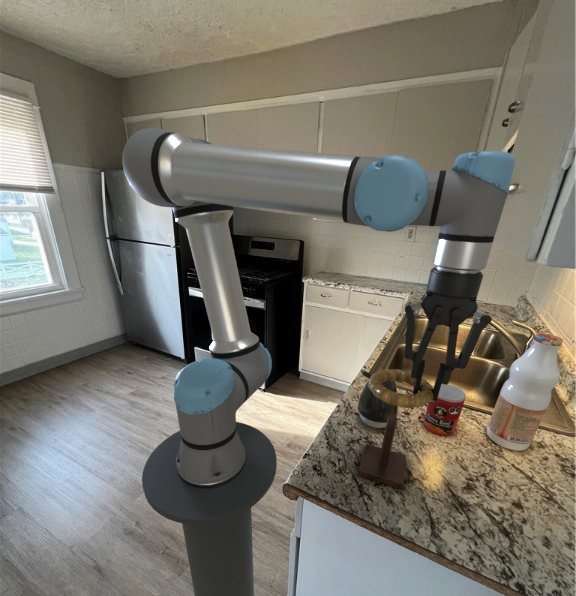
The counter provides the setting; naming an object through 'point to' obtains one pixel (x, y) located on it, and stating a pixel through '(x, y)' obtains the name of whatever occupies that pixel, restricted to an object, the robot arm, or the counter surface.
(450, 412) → the canned food
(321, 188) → the robot arm
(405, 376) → the ring
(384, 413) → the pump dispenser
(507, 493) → the counter surface
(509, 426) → the fruit juice
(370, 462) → the post
